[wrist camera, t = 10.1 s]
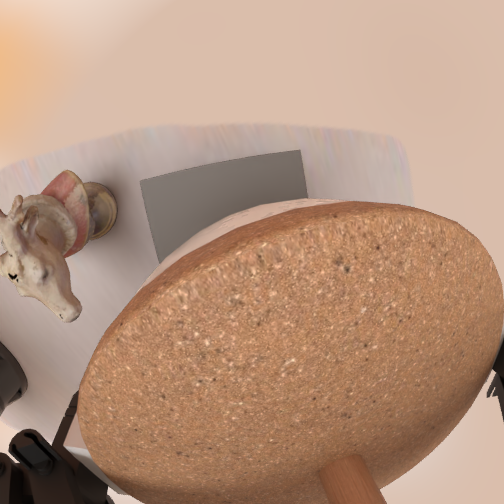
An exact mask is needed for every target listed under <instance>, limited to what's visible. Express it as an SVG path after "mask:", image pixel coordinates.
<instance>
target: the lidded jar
mask: <svg viewBox="0 0 504 504" xmlns="http://www.w3.org/2000/svg"><path fill="white" fill-rule="evenodd" d="M503 319H504V299H503V290H502V283H501V280H500V278H499V275H498V272H497V269H496V267H495V265H494V262H493V260H492V258H491V256H490V255H489V253H488V252H487V250H486V249H485V248H484V246H483V245H482V243H481V242H480V241H479V239H478V238H477V237H475V236H474V235H473V234H472V233H470V232H469V231H468V230H466V229H465V228H464V227H463V226H461V225H460V224H458V223H457V222H455V221H453V220H450V219H447V218H445V217H442V216H439V215H437V214H434V213H431V212H428V211H425V210H421V209H418V208H414V207H410V206H405V205H399V204H388V203H374V202H359V201H344V200H333V199H307V198H304V199H297V200H290V201H283V202H276V203H270V204H263V205H259V206H256V207H253V208H250V209H247V210H244V211H241V212H238V213H235V214H232V215H229V216H227V217H225V218H223V219H221V220H219V221H218V222H216V223H214V224H212V225H210V226H208V227H206V228H204V229H202V230H201V231H199V232H198V233H197V234H195V235H194V236H193V237H191V238H190V239H189V240H188V241H186V242H185V243H184V244H182V245H181V246H180V247H179V248H177V249H176V250H175V251H173V252H172V253H171V254H170V255H169V256H167V257H166V258H165V259H164V260H163V261H162V263H161V264H160V265H159V266H158V267H157V268H156V269H155V270H154V272H153V273H152V274H151V275H150V276H149V277H148V278H147V280H146V281H145V282H144V283H143V284H142V286H141V287H140V289H139V290H138V291H137V293H136V294H135V296H134V297H133V299H132V300H131V301H130V302H129V303H128V304H127V306H126V307H125V308H124V309H123V310H122V312H121V313H120V314H119V315H118V317H117V318H116V319H115V320H114V321H113V323H112V324H111V325H110V326H109V328H108V329H107V330H106V332H105V333H104V335H103V337H102V338H101V340H100V342H99V343H98V345H97V347H96V349H95V351H94V353H93V355H92V358H91V360H90V362H89V364H88V367H87V369H86V371H85V373H84V376H83V378H82V381H81V383H80V386H79V395H78V404H77V416H78V422H79V427H80V431H81V436H82V438H83V441H84V443H85V445H86V447H87V449H88V451H89V453H90V455H91V457H92V459H93V461H94V462H95V464H96V465H97V466H98V467H99V468H100V470H101V471H102V472H103V473H104V474H105V475H106V476H107V478H109V479H110V480H111V481H112V482H113V483H114V484H115V485H117V486H118V487H119V488H120V489H121V490H123V491H124V492H125V493H127V494H129V495H130V496H132V497H134V498H135V499H137V500H139V501H140V502H142V503H145V504H387V503H386V501H385V499H384V497H383V495H382V494H381V492H380V489H381V488H383V487H385V486H386V485H388V484H390V483H391V482H393V481H394V480H396V479H397V478H399V477H400V476H402V475H403V474H405V473H406V472H407V471H409V470H410V469H412V468H413V467H414V466H416V465H417V464H418V463H419V462H420V461H422V460H423V459H424V458H425V457H426V456H427V455H429V454H430V453H431V452H432V451H433V450H434V449H435V448H436V447H437V446H438V445H439V444H440V443H441V442H442V441H443V440H444V439H445V438H446V437H447V436H448V435H449V434H450V433H451V431H452V430H453V429H454V428H455V427H456V425H457V424H458V423H459V422H460V420H461V419H462V418H463V417H464V415H465V414H466V413H467V411H468V410H469V408H470V407H471V406H472V404H473V402H474V401H475V399H476V397H477V395H478V394H479V392H480V390H481V388H482V386H483V385H484V383H485V381H486V378H487V376H488V374H489V372H490V370H491V368H492V365H493V362H494V359H495V356H496V353H497V350H498V347H499V343H500V338H501V333H502V328H503Z"/></svg>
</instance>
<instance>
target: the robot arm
mask: <svg viewBox="0 0 504 504" xmlns="http://www.w3.org/2000/svg"><path fill="white" fill-rule="evenodd" d="M492 369H493V370H494V371H495V372H496V374H495V376H494V379H493V381H492V383H491V385H490V387H489V389H488V392H487V398H488V397H490V394H491V393H492V391H493V389H494V387H495V390H494V392H493V396H498V399H499V403H500V407H501V411H502V416H503V420H504V319H503V328H502V333H501V338H500V343H499V347H498V350H497V353H496V356H495V359H494V362H493V365H492V368H491V370H490V372H489V374H488V376H487V378H486V381H485V382H487V379H488V377H489V375H490V373H491V371H492ZM484 384H485V383H484ZM26 389H27V381H26V377H25V375H24V373H23V371H22V369H21V367H20V365H19V364H18V362H17V361H16V359H15V358H14V357H13V355H12V354H11V353H10V352H9V351H8V350H7V349H6V348H5V347H4V346H3V345H2V344H1V343H0V416H1V414H2V412H3V411H4V409H5V408H6V407H7V406H8V405H10V404H12V403H13V402H15V401H16V400H18V399H19V398H21V397H22V396H23V394H24V393H25V391H26ZM78 395H79V390H78V391H77V392H76V393H75V394H74V395H73V398H72V400H71V402H70V404H69V408H67V410H66V413H65V417H63V419H62V422H61V424H60V426H59V429H58V431H57V433H56V436H55V438H54V441H53V443H52V446H51V445H50V444H49V443H48V442H47V441H46V440H45V439H44V438H43V437H42V435H41V434H40V433H38V432H37V431H36V430H33V429H25V430H22V431H20V432H19V433H17V434H16V435H15V436H14V437H13V438H12V440H11V442H10V444H9V453H10V454H11V455H12V456H13V457H14V458H15V459H16V460H17V461H19V462H20V463H15V462H14V461H13V460H12V459H11V458H10V457H9V456H8V455H6V454H5V453H0V504H115V503H114V502H113V500H112V499H111V498H110V496H109V495H107V490H108V486H109V487H110V488H111V489H113V490H114V491H116V492H117V493H118V494H123V495H129V494H127V493H125V492H124V491H123V490H121V489H120V488H119V487H118V486H117V485H115V484H114V483H113V482H112V481H111V480H110V479H109V478H107V476H106V475H105V474H104V473H103V472H102V471H101V470H100V468H99V467H98V466H97V465H96V464H95V462H94V461H93V459H92V457H91V455H90V453H89V451H88V449H87V447H86V445H85V443H84V441H83V438H82V436H81V431H80V427H79V422H78V416H77V404H78Z"/></svg>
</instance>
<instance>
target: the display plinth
mask: <svg viewBox="0 0 504 504" xmlns="http://www.w3.org/2000/svg"><path fill="white" fill-rule="evenodd" d="M140 185H141V190H142V195H143V199H144V204H145V208H146V213H147V217H148V221H149V225H150V229H151V233H152V237H153V241H154V245H155V249H156V252H157V256H158V260H159V263H160V264H161V263H162V261H163V260H164V259H165V258H166V257H167V256H169V255H170V254H171V253H172V252H173V251H175V250H176V249H177V248H179V247H180V246H181V245H182V244H184V243H185V242H186V241H188V240H189V239H190V238H191V237H193V236H194V235H195V234H197V233H198V232H199V231H201V230H202V229H204V228H206V227H208V226H210V225H212V224H214V223H216V222H218V221H219V220H221V219H223V218H225V217H227V216H229V215H232V214H235V213H238V212H241V211H244V210H247V209H250V208H253V207H256V206H259V205H263V204H270V203H276V202H283V201H290V200H297V199H304V198H307V199H308V196H307V189H306V182H305V176H304V170H303V164H302V158H301V152H300V150H294V151H286V152H279V153H272V154H265V155H258V156H252V157H246V158H240V159H234V160H229V161H224V162H218V163H213V164H208V165H204V166H199V167H194V168H190V169H185V170H181V171H177V172H173V173H168V174H164V175H160V176H156V177H153V178H149V179H145V180H141V181H140Z"/></svg>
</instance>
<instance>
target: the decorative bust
mask: <svg viewBox="0 0 504 504" xmlns="http://www.w3.org/2000/svg"><path fill="white" fill-rule="evenodd" d="M116 216H117V205H116V202H115V199H114V196H113V195H112V194H111V193H110V191H109V190H108V189H107V188H106V187H105V186H103V185H101V184H98V183H93V182H88V183H82V181H81V179H80V178H79V177H78V176H77V175H76V174H75V173H73V172H72V171H69V170H65V171H63V172H61V173H60V174H59V175H58V176H57V177H56V178H55V179H54V180H53V181H51V182H50V184H49V185H48V186H47V187H46V188H45V189H44V190H43V191H42V193H41V194H39V195H30V196H28V197H26V198H24V199H23V197H22V196H21V195H18V196H16V197H15V199H14V202H13V204H12V208H11V210H10V212H9V213H8V215H5V214H4V213H3V212H2V211H1V209H0V241H1V243H2V246H3V248H4V250H5V251H6V253H4V254H2V255H0V274H1V275H2V276H3V277H7V278H8V279H9V280H10V281H12V282H13V283H14V284H15V286H16V288H17V291H18V293H19V295H20V296H21V297H23V296H28V297H34V298H36V299H38V300H39V301H41V302H42V303H43V304H44V305H46V306H47V307H48V308H49V309H50V310H51V311H52V312H53V313H54V314H55V315H56V316H57V317H58V318H59V319H60V320H62V321H63V322H73V321H74V320H76V319H77V318H78V317H79V315H80V313H81V311H82V306H81V304H80V301H79V300H78V299H77V298H76V297H75V296H74V295H73V293H72V291H71V283H70V272H69V269H68V266H67V263H66V261H65V259H64V258H66V257H69V256H71V255H73V254H75V253H76V252H78V251H80V250H81V249H82V248H83V246H84V245H85V244H86V243H87V242H88V241H89V240H94V239H97V238H100V237H102V236H103V235H105V234H106V233H107V232H108V231H109V230H110V229H111V227H112V226H113V224H114V222H115V220H116Z"/></svg>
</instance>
